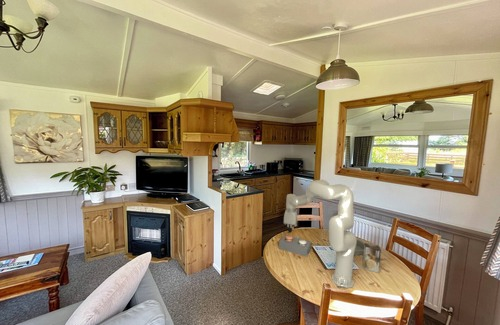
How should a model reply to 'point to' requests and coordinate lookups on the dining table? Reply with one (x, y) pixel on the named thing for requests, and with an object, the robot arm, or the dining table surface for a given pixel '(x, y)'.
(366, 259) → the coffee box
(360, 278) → the dining table surface
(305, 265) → the dining table surface
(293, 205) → the robot arm
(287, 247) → the console
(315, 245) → the dining table surface
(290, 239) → the plunger terracotta
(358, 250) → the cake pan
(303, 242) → the plunger white
